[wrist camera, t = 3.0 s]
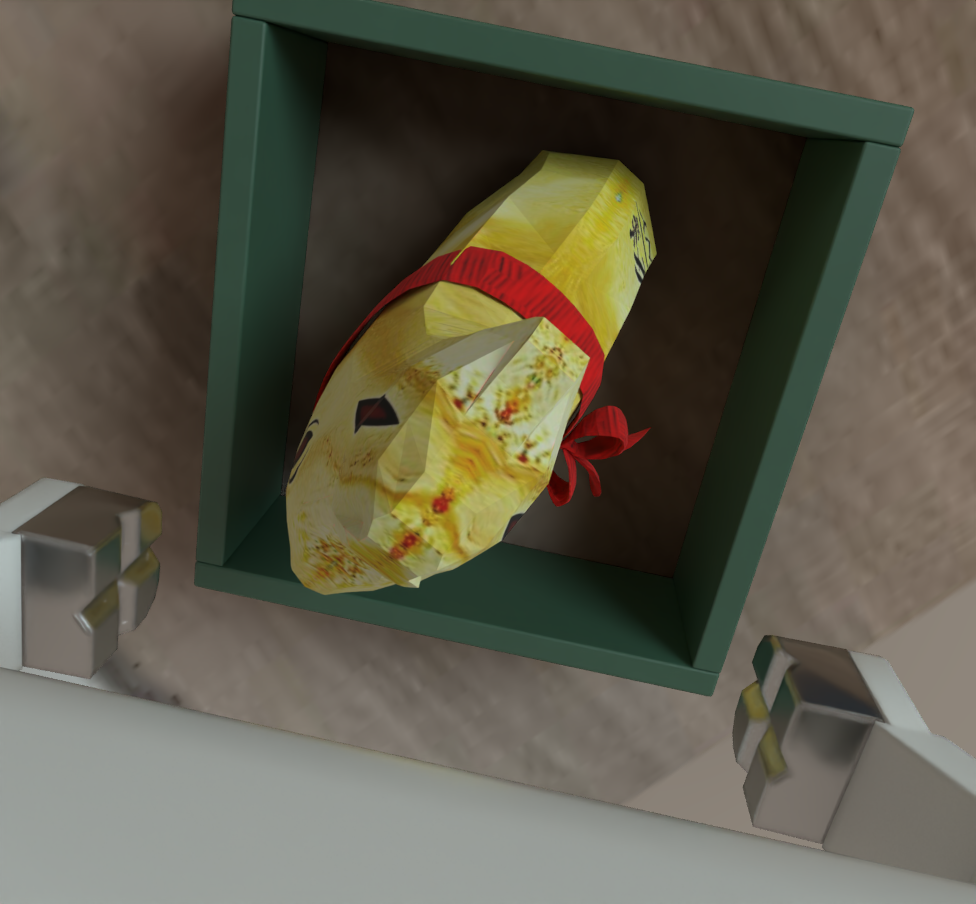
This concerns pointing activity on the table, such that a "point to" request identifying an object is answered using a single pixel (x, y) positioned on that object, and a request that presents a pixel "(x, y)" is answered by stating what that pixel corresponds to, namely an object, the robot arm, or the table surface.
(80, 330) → the table surface
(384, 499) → the chocolate bunny
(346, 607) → the crate
